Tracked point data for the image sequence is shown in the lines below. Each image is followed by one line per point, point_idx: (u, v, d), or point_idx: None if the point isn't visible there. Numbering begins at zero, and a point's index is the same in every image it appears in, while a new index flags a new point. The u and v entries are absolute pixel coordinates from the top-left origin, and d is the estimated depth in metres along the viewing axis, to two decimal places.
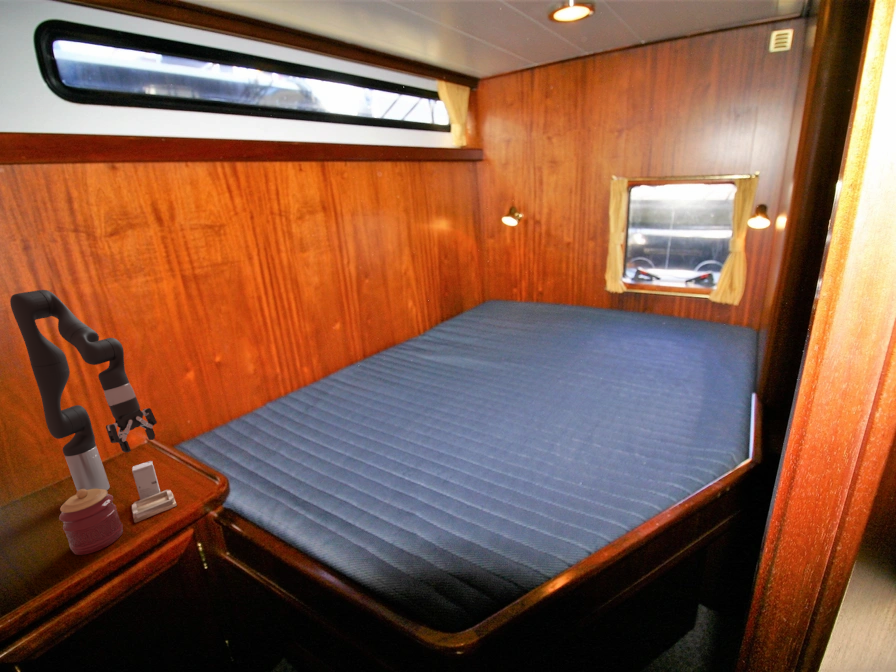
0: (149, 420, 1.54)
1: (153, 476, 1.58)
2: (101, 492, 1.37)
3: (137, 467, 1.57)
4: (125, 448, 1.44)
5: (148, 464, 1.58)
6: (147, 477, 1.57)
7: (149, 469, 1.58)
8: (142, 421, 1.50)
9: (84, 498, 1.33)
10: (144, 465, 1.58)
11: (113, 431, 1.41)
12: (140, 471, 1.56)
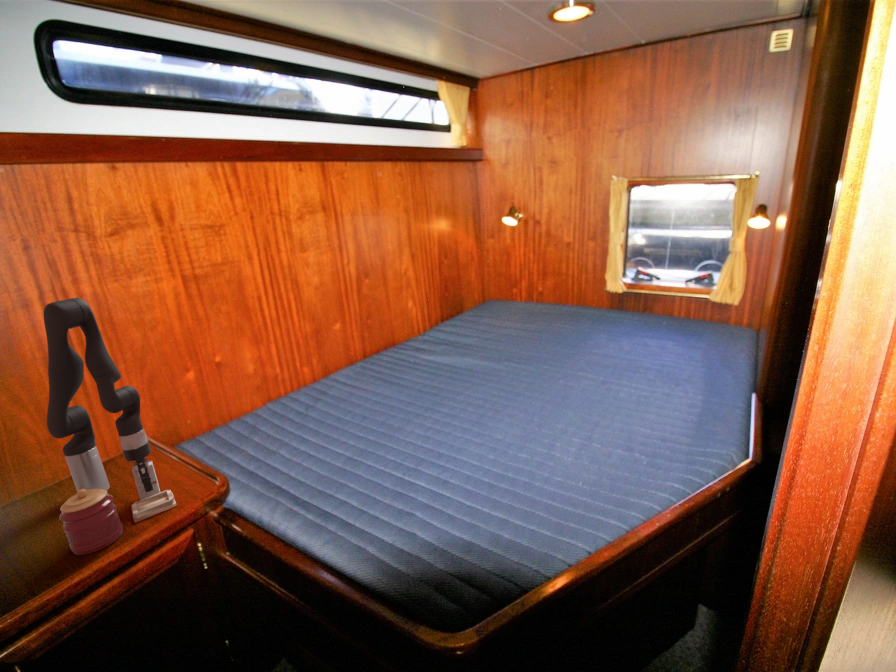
0: None
1: (153, 476, 1.58)
2: (101, 492, 1.37)
3: None
4: (150, 486, 1.57)
5: None
6: (147, 477, 1.57)
7: (149, 469, 1.58)
8: None
9: (84, 498, 1.33)
10: None
11: (148, 472, 1.54)
12: None
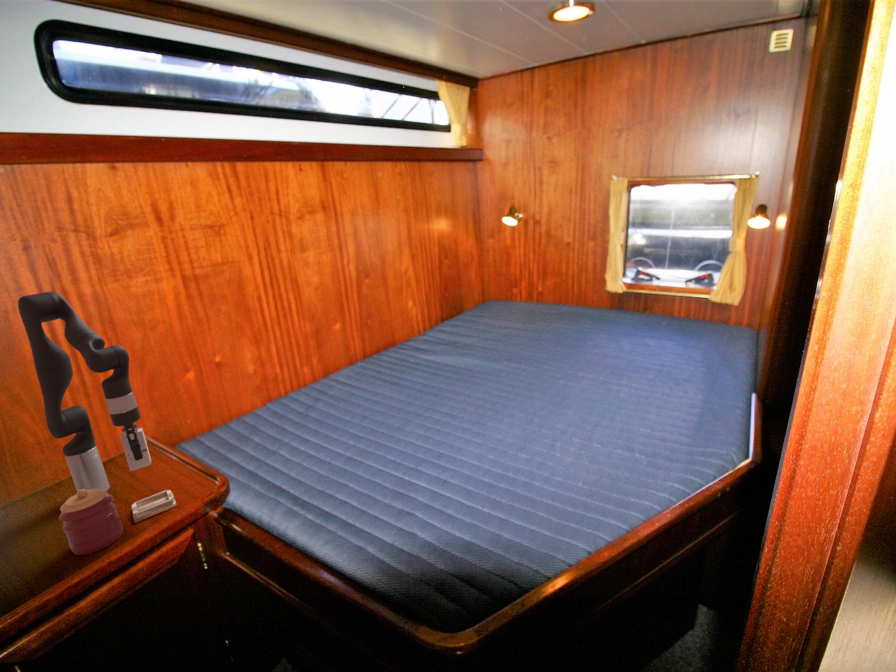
0: None
1: (143, 443, 1.47)
2: (101, 492, 1.37)
3: None
4: (140, 454, 1.46)
5: (138, 430, 1.47)
6: (137, 444, 1.46)
7: (139, 436, 1.46)
8: None
9: (84, 498, 1.33)
10: None
11: (137, 438, 1.42)
12: None
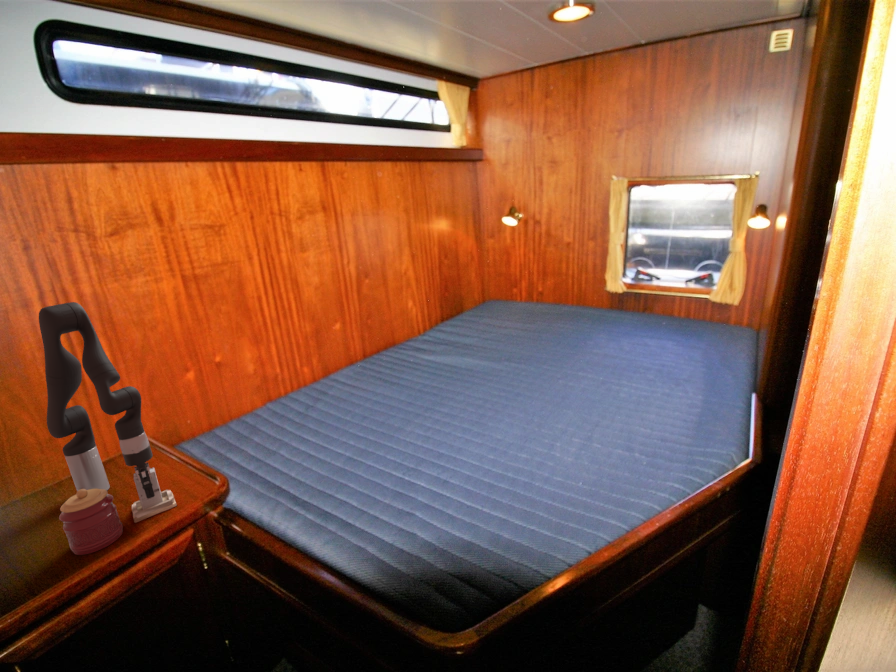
0: None
1: (156, 483, 1.51)
2: (101, 492, 1.37)
3: None
4: (152, 492, 1.48)
5: (150, 471, 1.50)
6: None
7: (152, 476, 1.50)
8: None
9: (84, 498, 1.33)
10: None
11: (149, 476, 1.45)
12: None
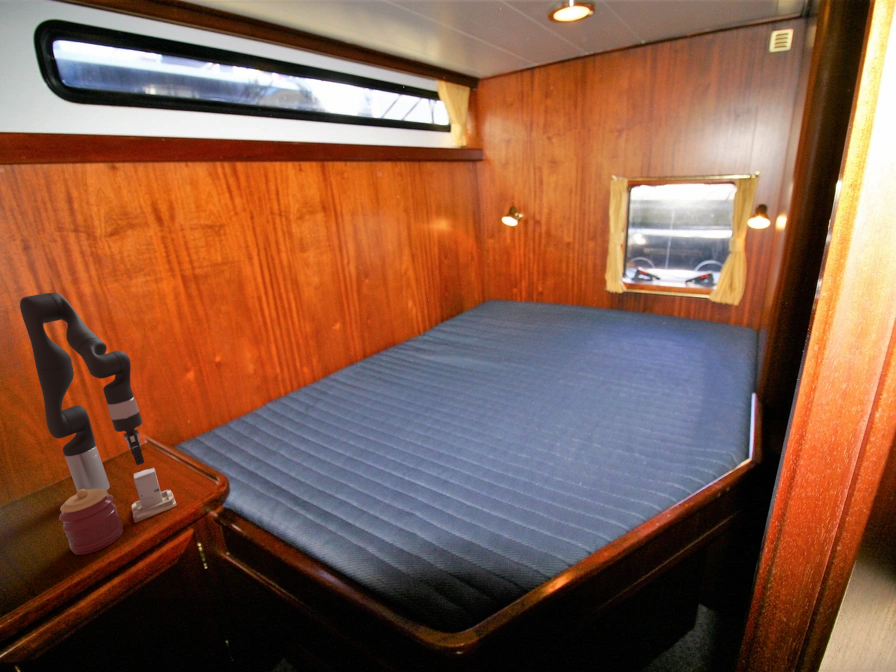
0: None
1: (156, 483, 1.51)
2: (101, 492, 1.37)
3: (138, 474, 1.49)
4: (141, 459, 1.45)
5: (150, 471, 1.50)
6: (150, 484, 1.50)
7: (152, 476, 1.50)
8: None
9: (84, 498, 1.33)
10: (146, 472, 1.50)
11: (138, 441, 1.42)
12: (142, 479, 1.48)
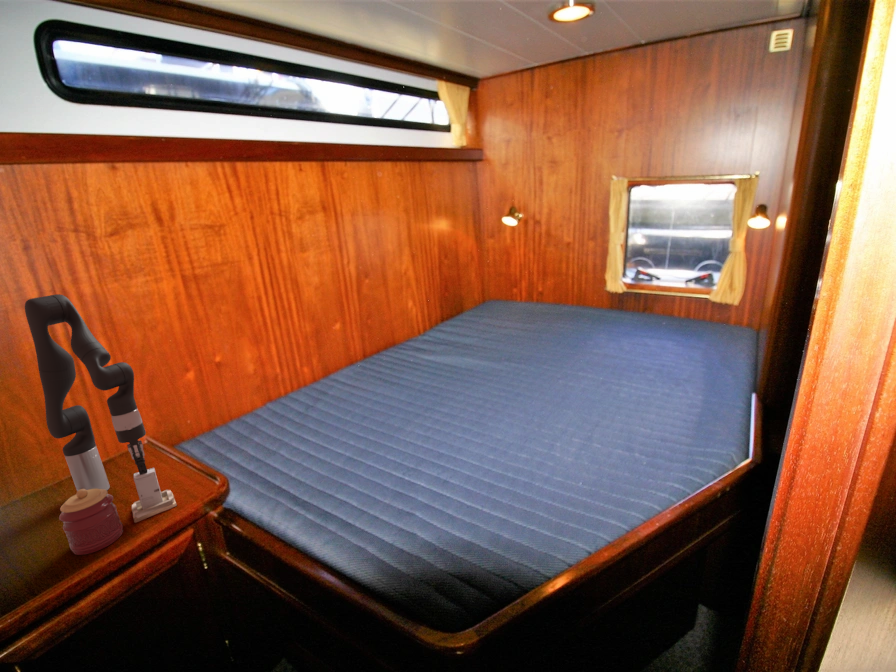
0: None
1: (156, 483, 1.51)
2: (101, 492, 1.37)
3: (138, 474, 1.49)
4: (145, 469, 1.49)
5: (150, 471, 1.50)
6: (150, 484, 1.50)
7: (152, 476, 1.50)
8: None
9: (84, 498, 1.33)
10: None
11: (143, 456, 1.45)
12: (142, 479, 1.48)
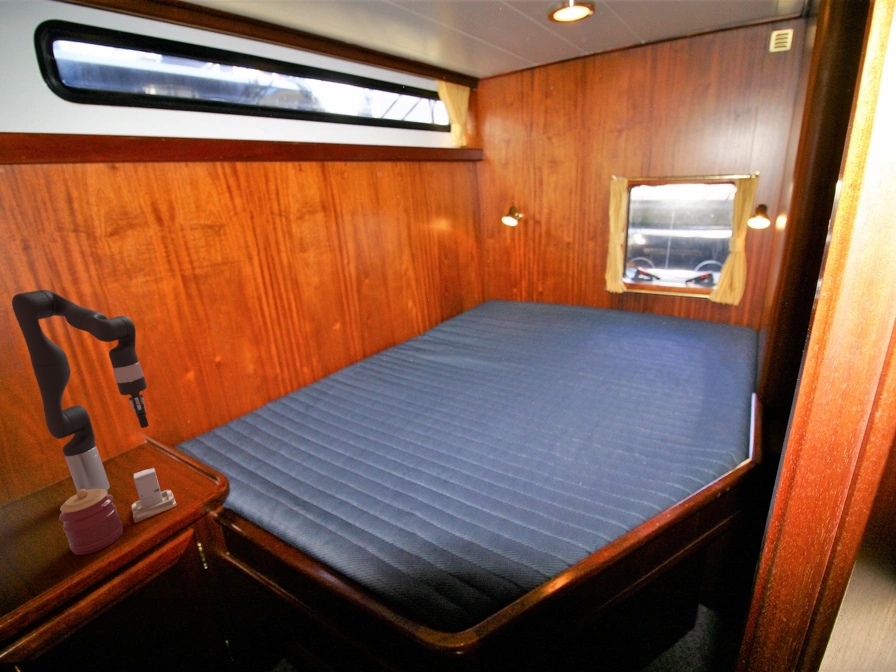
0: None
1: (156, 483, 1.51)
2: (101, 492, 1.37)
3: (138, 474, 1.49)
4: (146, 422, 1.51)
5: (150, 471, 1.50)
6: (150, 484, 1.50)
7: (152, 476, 1.50)
8: None
9: (84, 498, 1.33)
10: (146, 472, 1.50)
11: (144, 408, 1.47)
12: (142, 479, 1.48)
